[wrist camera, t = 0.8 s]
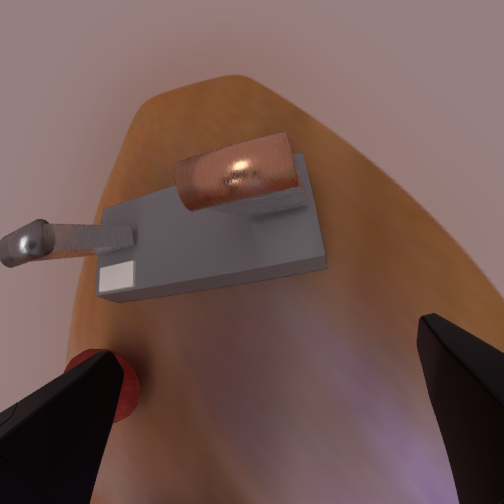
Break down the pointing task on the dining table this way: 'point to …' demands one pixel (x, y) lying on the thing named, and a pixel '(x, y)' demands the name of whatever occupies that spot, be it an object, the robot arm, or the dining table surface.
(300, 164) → the switch box
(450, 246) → the dining table surface
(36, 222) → the grey lever
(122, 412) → the onion
